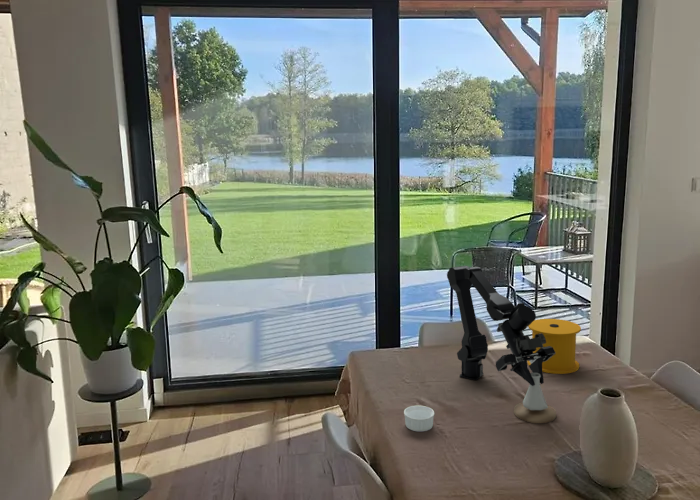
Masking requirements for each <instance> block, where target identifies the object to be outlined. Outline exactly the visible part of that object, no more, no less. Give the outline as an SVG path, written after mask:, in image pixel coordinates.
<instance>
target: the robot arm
mask: <svg viewBox="0 0 700 500" xmlns="http://www.w3.org/2000/svg"><path fill="white" fill-rule="evenodd" d="M446 278H447V280H448V283H449V286H450V287H451V288H452V290H453V291H454V292H455V293H456V298H457V299H456V300H457V303H458V308H459V309H458V310H459V313H460V318H461V323H462V327H463V336H462V337H461V348H460V349H459V350H458V351H457V353H456V355H457V359H458V360H459V361H460V362H461V374H459V378H465V379H469V380H473V381H477V380H479V379H480V378H481V377H482V376H483V375H484V364H483V362H482V360H486V358H487V355H488V351H489V344H488V342H487V336H486V335H485V334H482V333H481V332H480V331H479V327H478V321H477V317H476V312H475V307H474V303H473V298H472V293H471V289H472V286H473V287H474V289H475V290H476V292H478V294H479V295H480V296H481V299H483V300H484V303H485V304H486V311H487V313H488V314H489V316H490V318H491V320H492V321H493V322H499V321H503V322H499V323H498V326H497V328H496V332H497V333H500V332H501V333H502V335H503V337H504V339H505V341H506V343H507V344H506V345H505V347H506V349H507V350H508V349H510V351H511V353H508V354H502V355H501V357H499V358H498V359H497V360H496V361H495V367H496V370H497V371H498V372H502V371H506V370H507V368H508V366H509V365H510V366H511V368H510V369H509V371H510V372H514V373H515V374H517V376H520V377H521V378H522V379H523V380H524V381H526V382H527V383H528V385H532V386H534V385H535V383H534V380H533V378H532V376H531V374H530V373H539V374H540V375H541V377H540V385H543V384H544V383H545V381H544V372H543V371H542V363H543V362H545V361H547V360H548V359H550V358H551V357H552V356H553V355H554V354H556V353H555V351H554V349H553V347H551V346H547V347H543V344H545V343H546V339H545V337H544V335H543V334H542V333H541V334H536V335H535V338H532V337H529V335H525V334H524V332H523V331H525V330H526V329H527V328H528V326H529V325H530V324H531V323H532V322H533V321H534V320H537V319H536V318H537V315H536V312H535V310H533V309H532V308H531V307H529V306H527V305H526V304H525V303H524V302H520V303H517V304H516V305H514V303H513V302H512V300H510V299H509V298H507V297H506V296H503V295H502V294H500V293H498V291H497V289H496V288H494V286H493V284H491V282H490V281H489V280H488V278H487V277H486V276H485V274H484V273H483V270H482V268H481V267H480V266H471V267H469V266H468V265H461V266H451V267H450V268H449V269H448V271H447V273H446ZM538 347H540V349H539V350H538V351H537V352H536V353H533V351H535V350H537V349H536V348H538ZM527 361H530V363H531V365H528V363H527ZM528 367H529V368H528Z"/></svg>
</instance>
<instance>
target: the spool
mask: <svg viewBox="0 0 700 500" xmlns="http://www.w3.org/2000/svg"><path fill="white" fill-rule="evenodd" d="M527 328H528V329H529V330H530V331H531V332H532V336H531V338H535V335H536V334H541V333H542V334H543V335H544V337H545V339H546V343H545V344H543V347H547V346H551V347H553V349H554V351H555V353H556V354H554V355H553V356H552V357H551V358H550V359H548V360H547V361H545V362H543V363H542V371H543V373H546V374H554V375H563V374H571V373H575V372H577V371H578V370H579V368H580V363H579V362H578V361H577V360H576V350H577V334H579V333H581V332H582V326H580V325H579V324H578V323H576V322H573V321H571V320H566V319H559V318H539V319H535V320H534V321H533V322H532V323H531V324H530V325H529V326H528V327H527ZM536 349H537V350H535V351H533V353H536V352H537V351H538V350H539V349H540V347H538V348H536ZM529 365H531V363H530V361H527V366H529Z"/></svg>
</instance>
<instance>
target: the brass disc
mask: <svg viewBox="0 0 700 500" xmlns="http://www.w3.org/2000/svg"><path fill="white" fill-rule="evenodd" d="M547 406H548V408H546V409H543V410H530V409H527V408H525V407H524V406H523V401H521V402H519V403H517V404H515V406H514V407H513V414H514V416H515V417H516V418H518V419H520V420H521V421H523V422H527V423H532V424H548V423H551V422H553V421H555V420H556V418H557V411H556V409H555V408H554V407H553V406H551V405H549V404H547Z"/></svg>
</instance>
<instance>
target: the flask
mask: <svg viewBox="0 0 700 500" xmlns="http://www.w3.org/2000/svg"><path fill="white" fill-rule="evenodd" d="M530 374H531V376H532V378H533V380H534V383H535V385H534V386H532V385H530V384H528V388H527V391H526V394H525V395H524V399H522V402H523V406H524V407H525V408H527V409H530V410H543V409H546V408H548V406H547V405H548V403H547V401H546V398H545V396H544V393H543V390H542V387H541V383H540V377H541V375H540V374H539V373H533V372H530Z"/></svg>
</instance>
